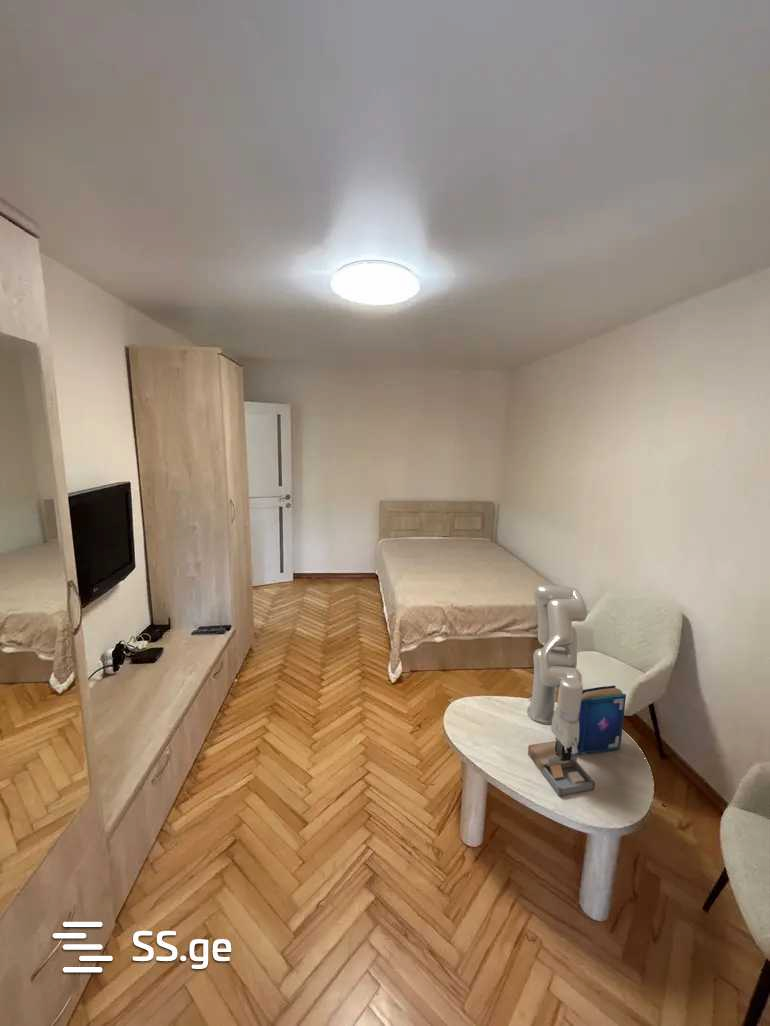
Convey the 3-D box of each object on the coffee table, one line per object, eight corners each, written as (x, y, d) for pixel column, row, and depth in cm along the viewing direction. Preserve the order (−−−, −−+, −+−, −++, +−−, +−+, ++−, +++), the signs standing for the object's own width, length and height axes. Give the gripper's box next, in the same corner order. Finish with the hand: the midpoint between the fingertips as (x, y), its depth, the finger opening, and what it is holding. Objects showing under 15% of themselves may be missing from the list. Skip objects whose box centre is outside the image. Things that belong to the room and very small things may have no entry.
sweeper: (544, 761, 156) (547, 737, 154) (573, 757, 158) (575, 733, 156) (549, 768, 153) (552, 743, 151) (578, 763, 155) (581, 738, 153)
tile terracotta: (548, 765, 155) (550, 765, 154) (558, 763, 156) (560, 764, 154) (551, 778, 153) (553, 778, 152) (561, 776, 154) (563, 776, 153)
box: (542, 774, 155) (543, 767, 155) (575, 768, 158) (576, 761, 158) (559, 796, 146) (559, 789, 145) (594, 789, 149) (595, 782, 148)
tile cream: (574, 781, 150) (574, 785, 150) (584, 779, 151) (584, 783, 151) (567, 772, 154) (567, 776, 154) (577, 771, 154) (576, 774, 155)
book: (572, 758, 163) (579, 700, 159) (561, 745, 170) (567, 689, 166) (620, 750, 168) (628, 694, 163) (608, 738, 174) (615, 683, 170)
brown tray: (527, 754, 165) (528, 745, 164) (559, 749, 168) (560, 740, 167) (542, 774, 155) (543, 764, 155) (575, 768, 158) (576, 759, 158)
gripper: (545, 698, 158) (540, 740, 162) (573, 729, 142) (567, 775, 146) (563, 696, 159) (558, 737, 163) (592, 726, 144) (586, 771, 148)
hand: (562, 755), depth 155 cm, fingers open, 3 cm apart
